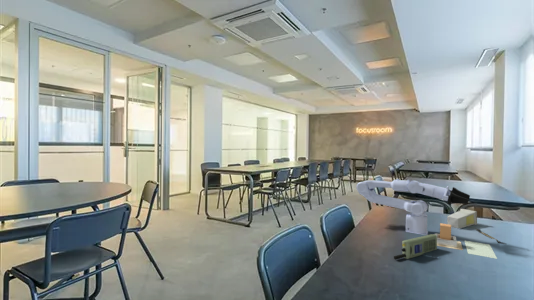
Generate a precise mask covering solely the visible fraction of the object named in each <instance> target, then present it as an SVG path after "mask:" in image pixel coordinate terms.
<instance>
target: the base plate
mask: <svg viewBox="0 0 534 300" xmlns="http://www.w3.org/2000/svg"><path fill="white" fill-rule="evenodd" d="M462 245H463V244H462V242H461V241H457V248H456V247H450V246H444V245H439V244H437V247H440V248H441V247H442V248H447V249H454V250H460V251H464V249H463V246H462Z"/></svg>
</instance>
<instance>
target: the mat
mask: <svg viewBox="0 0 534 300" xmlns="http://www.w3.org/2000/svg"><path fill="white" fill-rule="evenodd" d="M464 244H465V247H466V251H467V254H469V255H474V256H480V257H484V258H491V259H495V260H496V259H498V257H497V255H496V253H495V252H494V249H493V248H492V245H490V244H488V243H482V242H476V241H470V240H464Z"/></svg>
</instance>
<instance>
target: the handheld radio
mask: <svg viewBox="0 0 534 300" xmlns="http://www.w3.org/2000/svg"><path fill="white" fill-rule="evenodd" d="M401 243H402V244H401V245H402V249H401V251H402V254H398V255H397V254H396V255H393V259H394V260H399V259H400V260H401V259H403V258H404V259H406V260H408V259H409V260H410V259H413V258H416V257H420V256H422V255H424V254H426V253H429V252H432V251H436V250H438V246H437V235H435V233H434V234H431V233H430V234H428V235H426V234H425V235H422V236H418V237H413V238H409V239H404V240H402V241H401Z"/></svg>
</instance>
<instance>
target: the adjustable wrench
mask: <svg viewBox="0 0 534 300" xmlns="http://www.w3.org/2000/svg"><path fill="white" fill-rule="evenodd" d="M475 230H476V231H477V232H478V234H479V233H480V234H481V235H484V236H485V237H487V238H489V239H490V240H491V239H492V240H496V242H497V244H502V245H506V243H505V242H503V241H502V242H501V241H500V240H498V239H497V238H495V237H493V236H491V235H489V234H488V233H485V232H483V231H482V230H481V228H476V227H475Z"/></svg>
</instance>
